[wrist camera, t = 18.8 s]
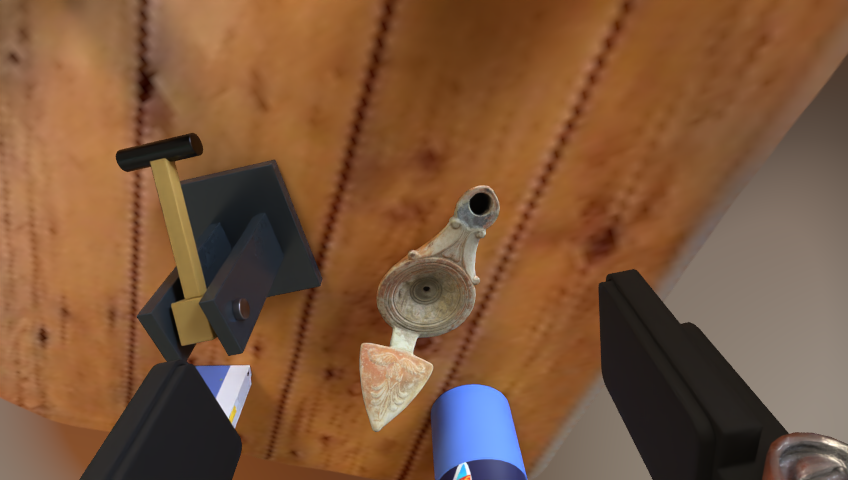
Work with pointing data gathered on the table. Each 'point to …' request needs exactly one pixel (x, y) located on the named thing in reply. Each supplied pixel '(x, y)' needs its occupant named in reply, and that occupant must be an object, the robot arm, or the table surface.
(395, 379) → the oil lamp
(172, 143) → the switch lever
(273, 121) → the table surface
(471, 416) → the water bottle
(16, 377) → the table surface
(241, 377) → the walkman
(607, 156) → the table surface
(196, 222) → the switch base
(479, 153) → the table surface
